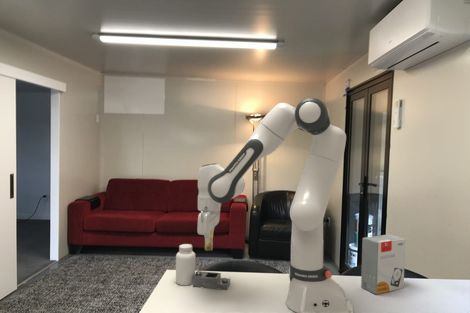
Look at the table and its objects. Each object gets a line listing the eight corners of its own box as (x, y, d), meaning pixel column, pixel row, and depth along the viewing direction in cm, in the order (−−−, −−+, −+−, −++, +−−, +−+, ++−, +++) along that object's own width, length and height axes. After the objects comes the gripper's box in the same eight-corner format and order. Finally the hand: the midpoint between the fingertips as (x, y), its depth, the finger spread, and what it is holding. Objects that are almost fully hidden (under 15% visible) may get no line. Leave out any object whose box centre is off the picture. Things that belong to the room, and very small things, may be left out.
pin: (213, 248, 123) (213, 228, 123) (211, 250, 120) (211, 230, 120) (206, 248, 124) (206, 228, 123) (204, 250, 121) (204, 229, 120)
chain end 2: (230, 283, 127) (230, 276, 127) (227, 289, 121) (227, 282, 121) (206, 281, 129) (206, 274, 129) (202, 287, 123) (202, 280, 123)
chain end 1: (220, 282, 128) (220, 271, 128) (217, 288, 122) (217, 276, 122) (197, 280, 130) (197, 269, 130) (192, 286, 124) (192, 274, 124)
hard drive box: (376, 295, 117) (376, 242, 116) (360, 287, 124) (360, 237, 123) (404, 288, 123) (405, 238, 123) (388, 280, 130) (388, 233, 130)
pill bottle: (191, 286, 124) (191, 249, 124) (172, 284, 126) (172, 248, 126) (197, 278, 132) (197, 243, 132) (180, 277, 134) (179, 242, 133)
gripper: (210, 210, 111) (210, 249, 111) (222, 201, 131) (222, 233, 131) (193, 209, 112) (193, 248, 112) (208, 200, 132) (207, 233, 132)
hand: (209, 240), depth 122 cm, fingers closed on pin, 3 cm apart
